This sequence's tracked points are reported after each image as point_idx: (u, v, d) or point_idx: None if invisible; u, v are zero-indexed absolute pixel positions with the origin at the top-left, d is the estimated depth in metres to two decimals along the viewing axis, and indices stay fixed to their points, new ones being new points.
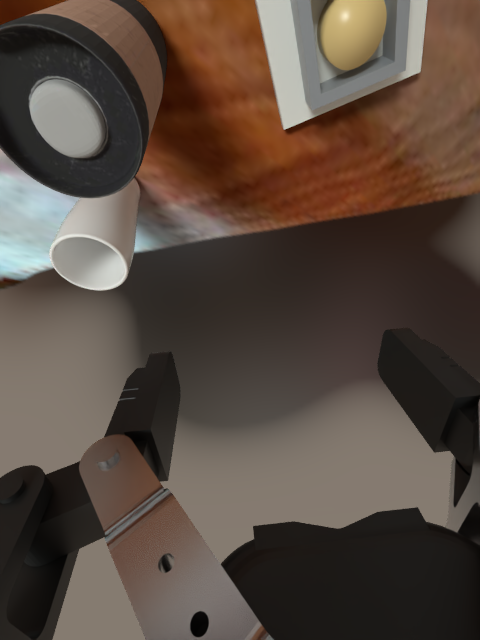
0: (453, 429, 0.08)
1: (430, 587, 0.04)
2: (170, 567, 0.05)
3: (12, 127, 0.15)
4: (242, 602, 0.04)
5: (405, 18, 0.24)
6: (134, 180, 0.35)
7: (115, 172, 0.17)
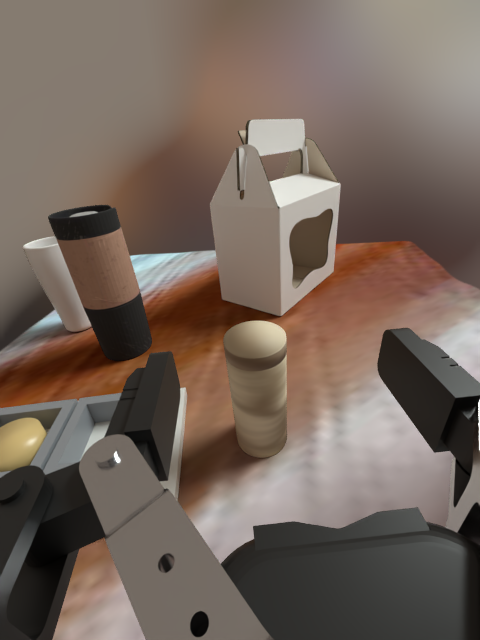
0: (453, 429, 0.08)
1: (430, 587, 0.04)
2: (170, 567, 0.05)
3: None
4: (242, 602, 0.04)
5: None
6: (76, 327, 0.50)
7: None
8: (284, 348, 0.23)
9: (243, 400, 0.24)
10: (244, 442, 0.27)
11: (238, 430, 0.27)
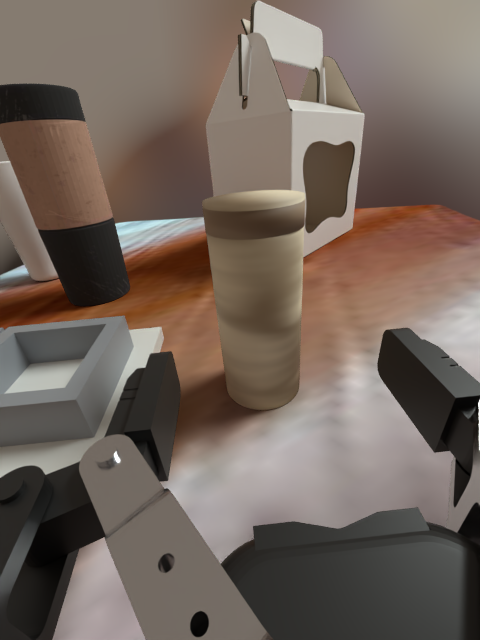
0: (453, 429, 0.08)
1: (430, 587, 0.04)
2: (170, 567, 0.05)
3: None
4: (242, 602, 0.04)
5: None
6: (42, 275, 0.41)
7: None
8: (302, 208, 0.14)
9: (232, 304, 0.15)
10: (236, 385, 0.18)
11: (227, 367, 0.18)
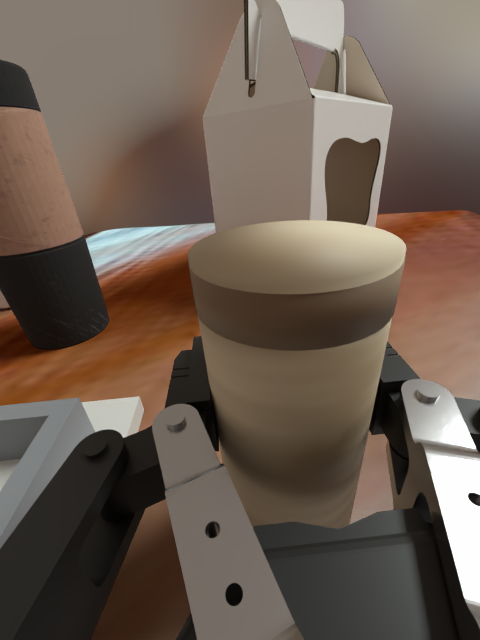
0: (385, 412, 0.09)
1: (430, 587, 0.04)
2: (215, 535, 0.05)
3: None
4: (277, 590, 0.04)
5: None
6: (4, 302, 0.34)
7: None
8: None
9: (248, 446, 0.08)
10: None
11: None
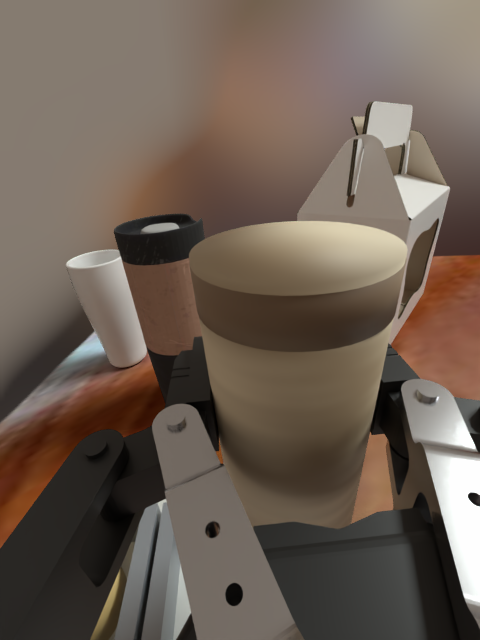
0: (385, 412, 0.09)
1: (430, 587, 0.04)
2: (215, 535, 0.05)
3: None
4: (277, 590, 0.04)
5: None
6: (124, 363, 0.40)
7: None
8: (403, 273, 0.06)
9: (249, 448, 0.08)
10: None
11: None
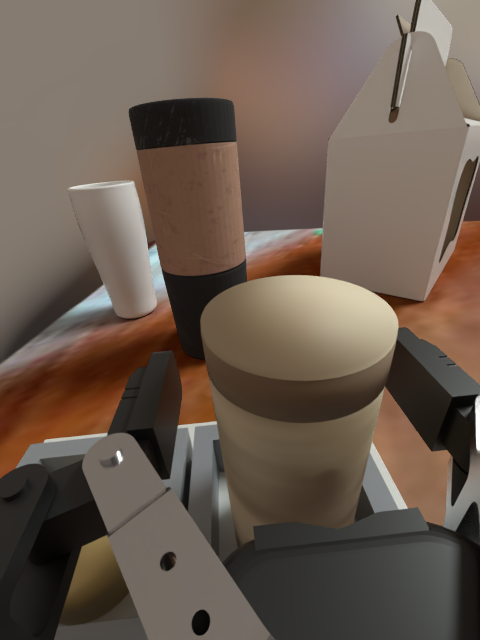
0: (450, 428, 0.08)
1: (430, 587, 0.04)
2: (172, 565, 0.05)
3: None
4: (243, 601, 0.04)
5: None
6: (132, 312, 0.36)
7: None
8: (394, 347, 0.07)
9: (254, 492, 0.09)
10: None
11: (240, 539, 0.12)
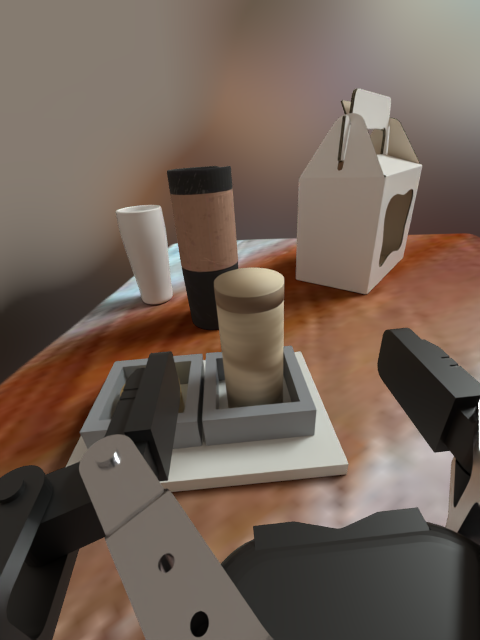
0: (453, 429, 0.08)
1: (430, 587, 0.04)
2: (170, 567, 0.05)
3: None
4: (242, 602, 0.04)
5: None
6: (155, 300, 0.49)
7: None
8: (281, 291, 0.20)
9: (234, 352, 0.22)
10: (236, 406, 0.25)
11: (229, 392, 0.25)
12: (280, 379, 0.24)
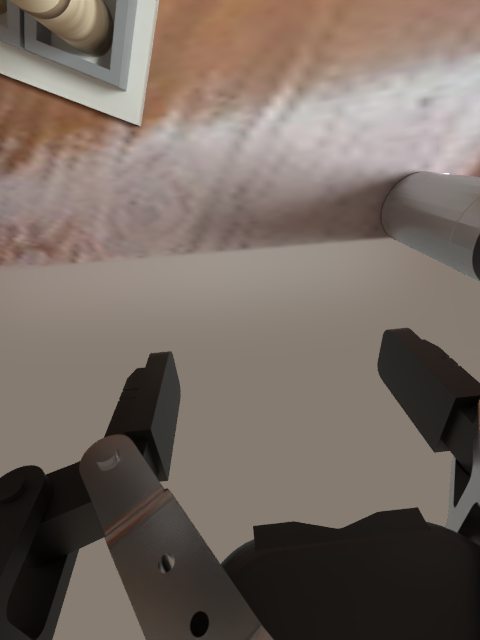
0: (453, 429, 0.08)
1: (430, 587, 0.04)
2: (170, 567, 0.05)
3: None
4: (242, 602, 0.04)
5: None
6: None
7: None
8: (61, 3, 0.20)
9: None
10: None
11: None
12: (96, 39, 0.27)
